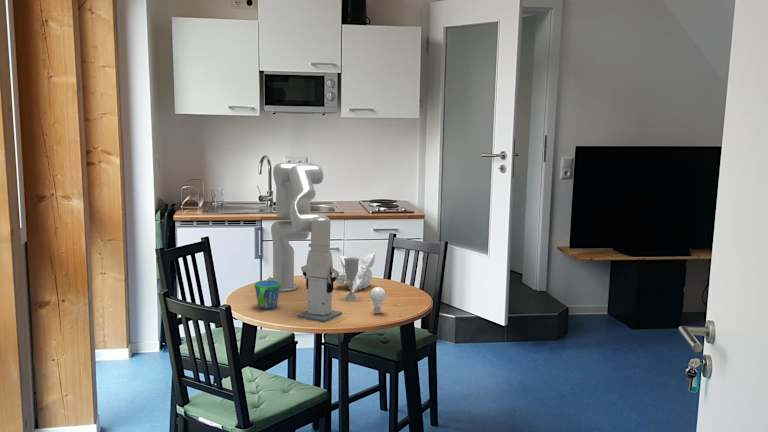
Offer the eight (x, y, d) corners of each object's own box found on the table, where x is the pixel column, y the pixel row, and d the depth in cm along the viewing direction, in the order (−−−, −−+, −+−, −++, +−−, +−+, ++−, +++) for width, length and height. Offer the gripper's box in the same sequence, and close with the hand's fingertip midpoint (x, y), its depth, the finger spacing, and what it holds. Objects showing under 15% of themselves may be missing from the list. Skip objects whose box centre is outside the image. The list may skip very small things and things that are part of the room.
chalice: (356, 302, 285) (357, 261, 283) (341, 301, 286) (341, 260, 284) (360, 298, 292) (361, 257, 290) (345, 296, 294) (346, 256, 291)
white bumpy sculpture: (377, 263, 323) (375, 248, 305) (377, 302, 315) (375, 289, 297) (339, 263, 324) (334, 248, 306) (338, 303, 316) (333, 290, 298)
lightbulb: (373, 316, 265) (373, 289, 263) (367, 312, 270) (367, 285, 269) (387, 314, 267) (388, 288, 266) (381, 310, 273) (382, 284, 271)
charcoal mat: (296, 317, 261) (296, 314, 261) (315, 309, 272) (315, 307, 272) (324, 322, 255) (324, 319, 255) (342, 314, 267) (342, 311, 266)
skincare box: (307, 313, 263) (306, 276, 261) (314, 310, 268) (314, 273, 266) (325, 315, 259) (325, 278, 257) (333, 312, 265) (332, 275, 263)
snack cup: (271, 313, 265) (271, 288, 264) (247, 311, 268) (247, 286, 267) (286, 303, 280) (286, 280, 279) (263, 301, 283) (263, 278, 282)
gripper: (296, 247, 261) (296, 289, 264) (334, 252, 253) (333, 296, 256) (307, 243, 267) (306, 285, 270) (344, 249, 260) (343, 291, 262)
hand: (319, 290), depth 263 cm, fingers open, 9 cm apart
